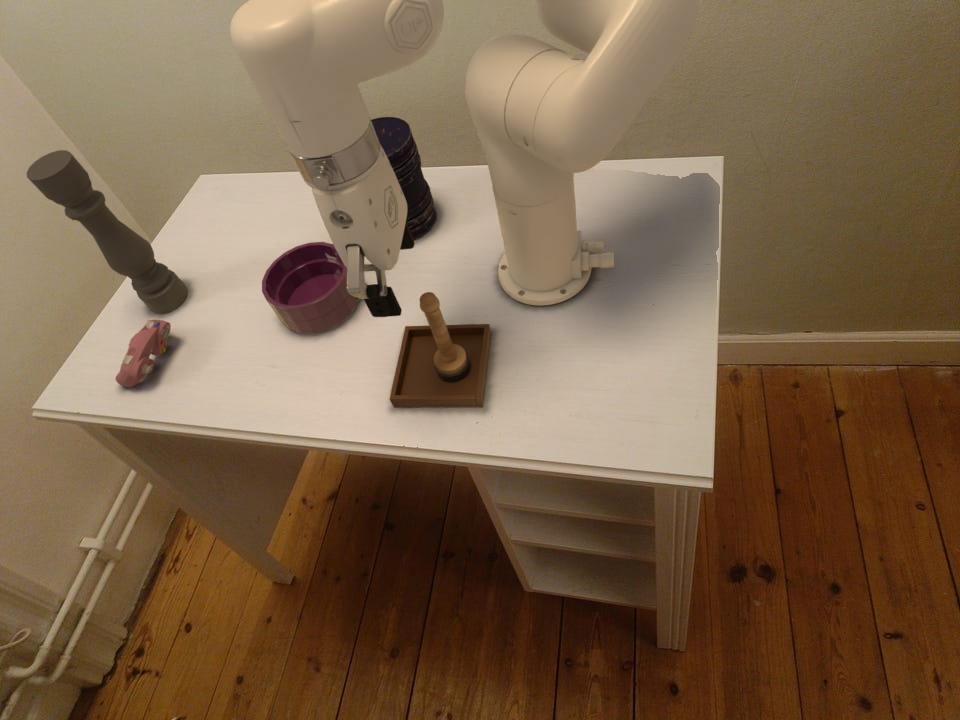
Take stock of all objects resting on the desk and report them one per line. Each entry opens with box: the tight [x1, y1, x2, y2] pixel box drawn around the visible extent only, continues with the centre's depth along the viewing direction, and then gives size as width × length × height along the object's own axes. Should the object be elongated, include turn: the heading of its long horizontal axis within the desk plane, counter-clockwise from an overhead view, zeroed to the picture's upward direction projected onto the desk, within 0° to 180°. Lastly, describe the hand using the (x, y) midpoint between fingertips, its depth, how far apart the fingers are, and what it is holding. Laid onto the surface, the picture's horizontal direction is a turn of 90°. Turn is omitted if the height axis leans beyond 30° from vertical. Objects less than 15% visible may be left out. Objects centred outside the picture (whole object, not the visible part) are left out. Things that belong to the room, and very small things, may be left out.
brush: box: [419, 291, 471, 382], centre depth 71 cm, size 4×4×14 cm
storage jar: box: [371, 116, 438, 241], centre depth 89 cm, size 10×10×15 cm
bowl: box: [261, 241, 360, 334], centre depth 86 cm, size 12×12×6 cm
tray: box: [389, 323, 493, 409], centre depth 77 cm, size 11×11×2 cm
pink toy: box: [115, 319, 171, 388], centre depth 85 cm, size 10×5×7 cm, turn 169°
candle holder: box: [25, 149, 189, 315], centre depth 85 cm, size 6×6×25 cm
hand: (394, 279), depth 67 cm, fingers open, 9 cm apart
